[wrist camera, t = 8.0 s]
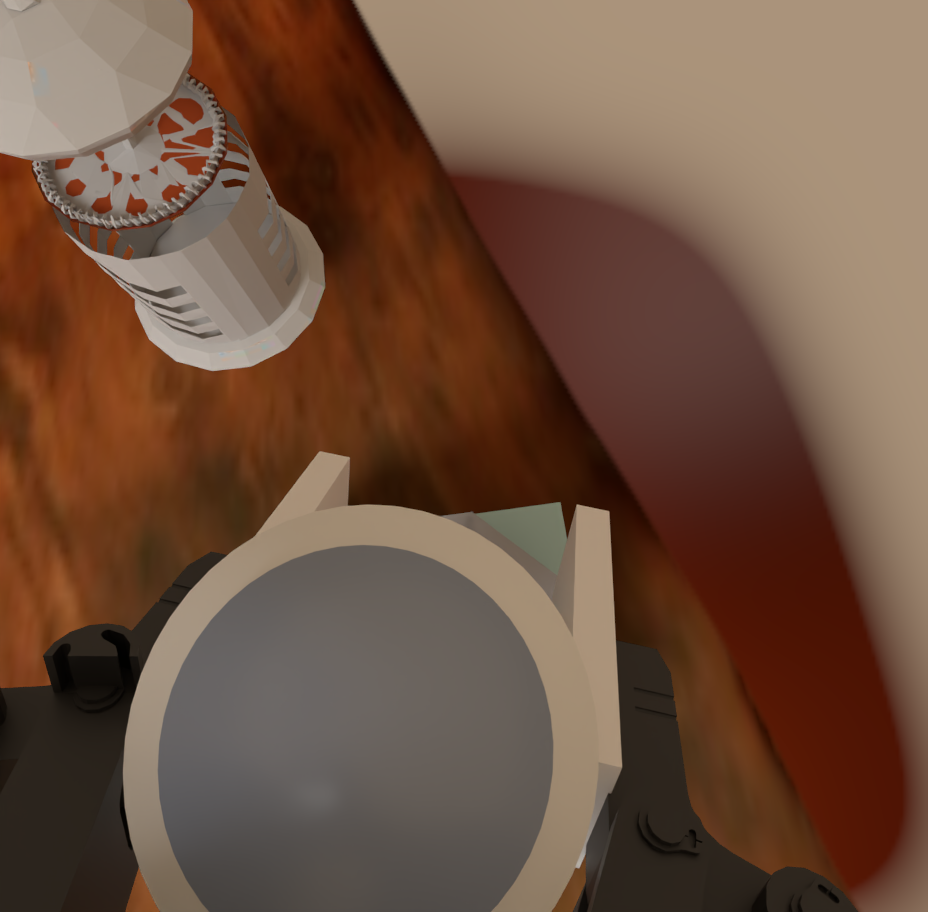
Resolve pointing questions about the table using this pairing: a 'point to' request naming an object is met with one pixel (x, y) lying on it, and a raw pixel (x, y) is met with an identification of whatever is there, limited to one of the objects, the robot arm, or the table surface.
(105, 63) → the french press
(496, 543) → the body block
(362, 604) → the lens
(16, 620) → the table surface
